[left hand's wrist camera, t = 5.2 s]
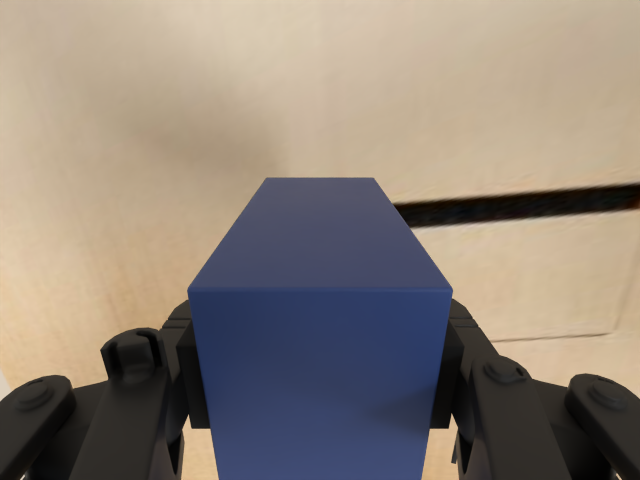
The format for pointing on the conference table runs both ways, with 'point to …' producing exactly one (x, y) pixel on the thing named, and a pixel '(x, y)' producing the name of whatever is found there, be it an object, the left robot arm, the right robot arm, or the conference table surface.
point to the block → (320, 336)
